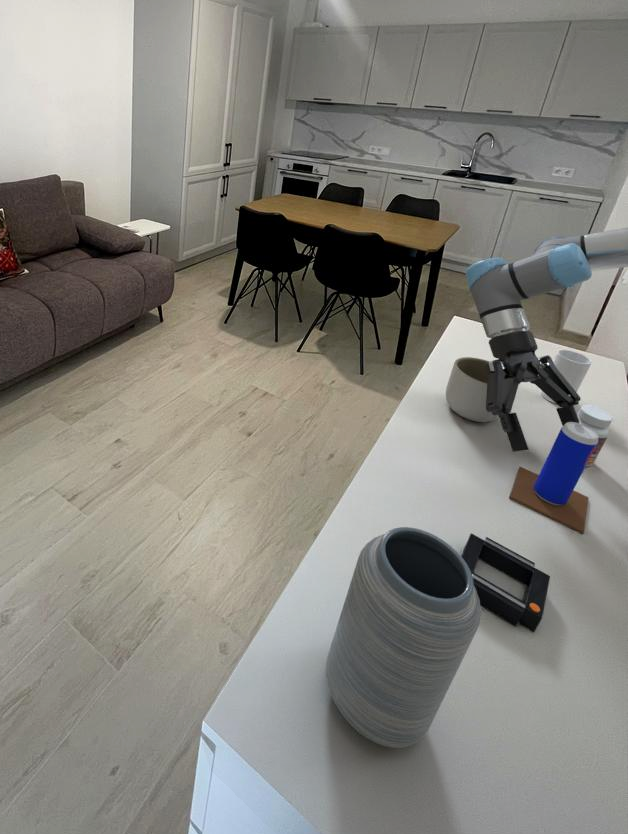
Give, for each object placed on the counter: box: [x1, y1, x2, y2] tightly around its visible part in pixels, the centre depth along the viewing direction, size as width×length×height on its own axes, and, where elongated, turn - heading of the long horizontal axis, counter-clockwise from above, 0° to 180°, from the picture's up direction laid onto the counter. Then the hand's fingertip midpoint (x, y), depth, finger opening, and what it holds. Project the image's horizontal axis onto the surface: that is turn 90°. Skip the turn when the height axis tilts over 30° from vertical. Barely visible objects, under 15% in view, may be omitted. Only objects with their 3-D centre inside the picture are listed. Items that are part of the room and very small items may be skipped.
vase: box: [325, 526, 482, 749], centre depth 54 cm, size 12×12×23 cm
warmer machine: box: [460, 532, 551, 633], centre depth 73 cm, size 11×11×3 cm
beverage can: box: [534, 422, 598, 505], centre depth 88 cm, size 5×5×15 cm
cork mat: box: [508, 466, 590, 535], centre depth 91 cm, size 11×11×1 cm
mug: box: [540, 349, 593, 405], centre depth 122 cm, size 10×7×12 cm, turn 148°
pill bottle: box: [577, 404, 614, 468], centre depth 100 cm, size 6×6×11 cm
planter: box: [445, 356, 504, 423], centre depth 113 cm, size 12×12×11 cm
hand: (549, 446), depth 90 cm, fingers open, 13 cm apart
